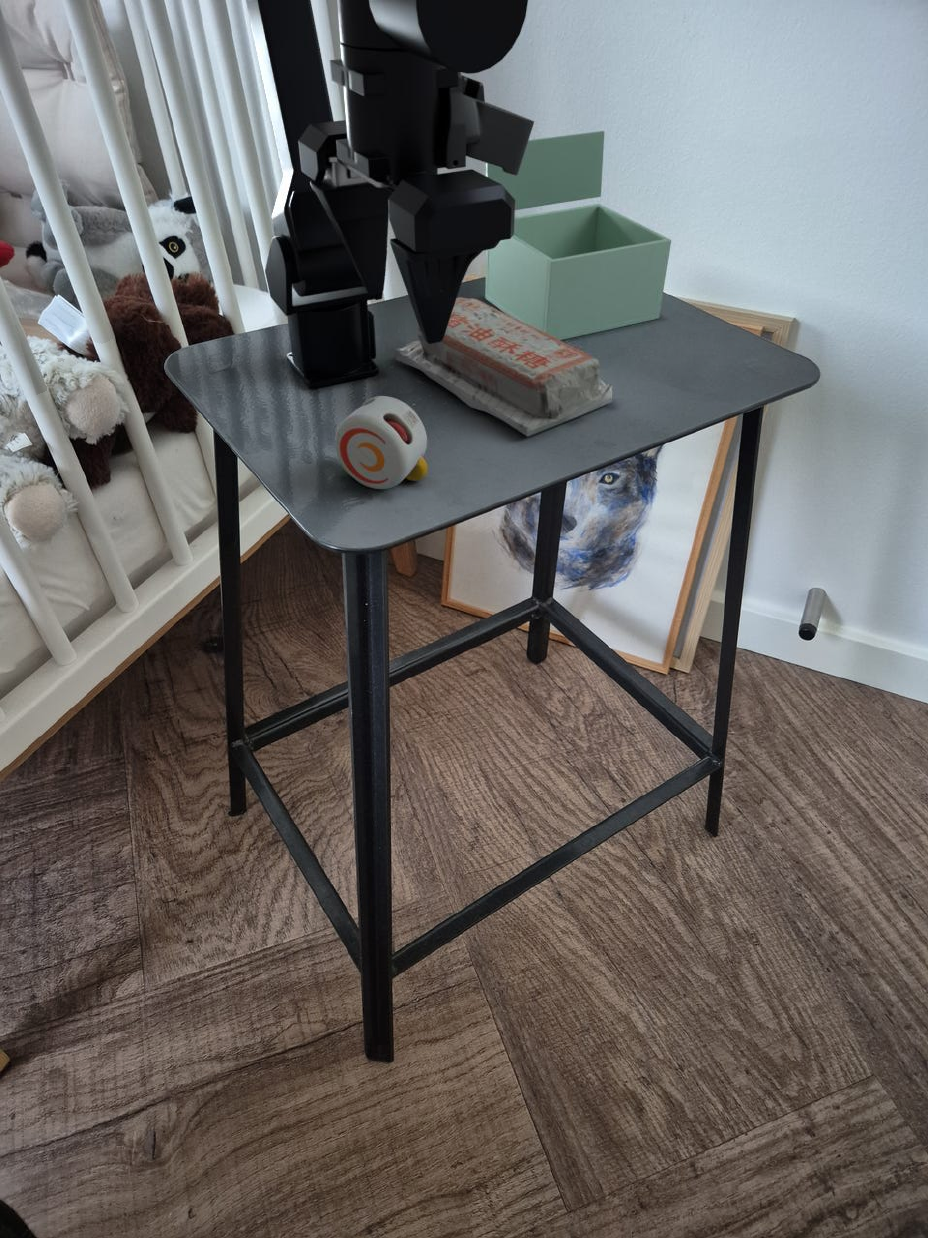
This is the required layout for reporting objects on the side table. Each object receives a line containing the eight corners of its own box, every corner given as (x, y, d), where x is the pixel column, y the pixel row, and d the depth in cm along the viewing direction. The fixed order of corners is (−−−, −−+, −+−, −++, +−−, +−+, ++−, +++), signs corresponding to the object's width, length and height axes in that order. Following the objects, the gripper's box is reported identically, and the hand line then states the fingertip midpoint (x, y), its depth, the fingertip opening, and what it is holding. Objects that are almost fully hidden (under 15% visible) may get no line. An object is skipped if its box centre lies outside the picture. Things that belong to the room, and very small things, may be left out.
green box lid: (487, 145, 81) (485, 145, 81) (488, 214, 85) (486, 213, 85) (604, 131, 86) (602, 130, 86) (601, 196, 89) (598, 195, 89)
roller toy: (362, 452, 67) (357, 382, 64) (437, 471, 66) (436, 400, 62) (333, 481, 64) (325, 409, 61) (410, 502, 63) (407, 429, 59)
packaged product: (623, 349, 70) (530, 385, 66) (616, 404, 73) (527, 442, 69) (479, 281, 81) (390, 308, 76) (478, 332, 84) (393, 361, 79)
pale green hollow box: (545, 343, 82) (551, 261, 77) (485, 298, 90) (486, 221, 85) (659, 318, 87) (671, 239, 82) (592, 277, 95) (599, 203, 90)
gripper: (608, 57, 46) (581, 345, 56) (444, 11, 58) (446, 254, 68) (415, 76, 42) (423, 382, 52) (282, 22, 54) (310, 278, 64)
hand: (403, 316), depth 59 cm, fingers open, 9 cm apart
